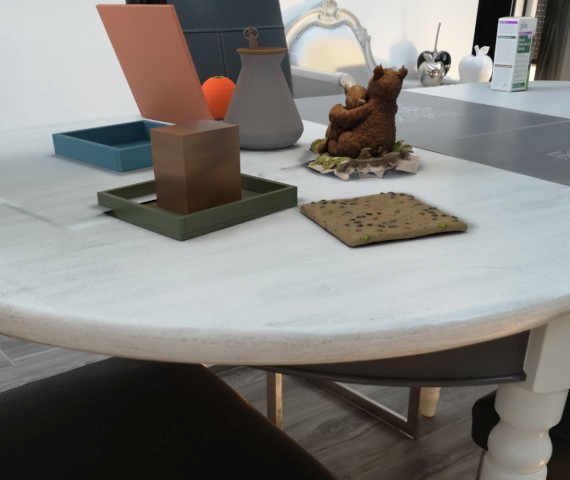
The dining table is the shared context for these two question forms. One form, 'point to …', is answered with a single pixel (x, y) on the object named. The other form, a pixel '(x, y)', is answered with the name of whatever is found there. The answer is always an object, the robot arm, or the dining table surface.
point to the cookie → (380, 218)
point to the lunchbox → (110, 145)
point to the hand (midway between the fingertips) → (155, 34)
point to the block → (196, 165)
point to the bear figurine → (365, 131)
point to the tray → (255, 203)
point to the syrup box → (513, 53)
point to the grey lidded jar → (263, 100)
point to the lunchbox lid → (155, 61)
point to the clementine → (218, 95)
